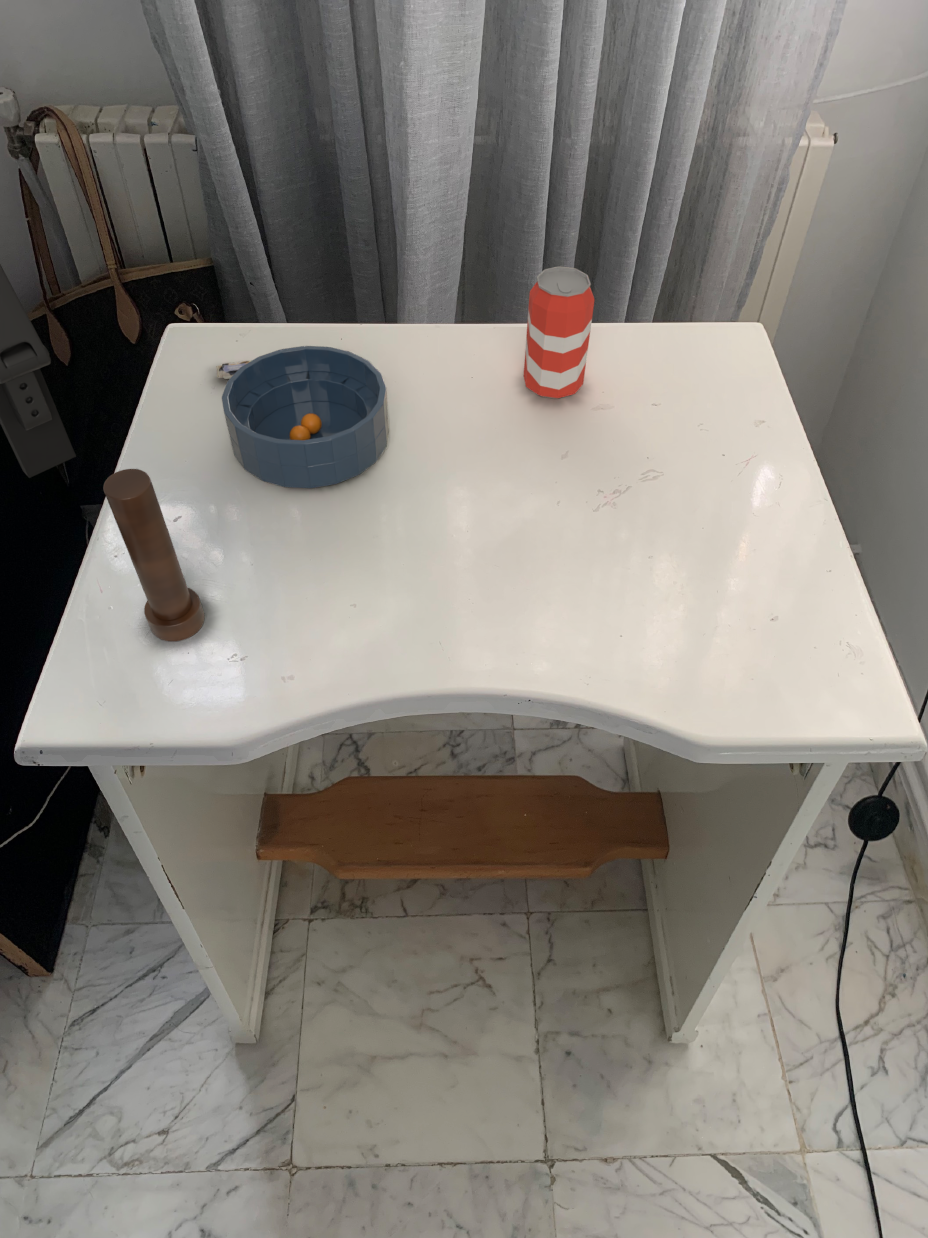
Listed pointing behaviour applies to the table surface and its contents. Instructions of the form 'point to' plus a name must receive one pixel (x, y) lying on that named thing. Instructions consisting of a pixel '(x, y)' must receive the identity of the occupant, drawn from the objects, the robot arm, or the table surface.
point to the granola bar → (229, 369)
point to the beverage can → (558, 332)
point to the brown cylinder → (153, 556)
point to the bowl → (287, 391)
